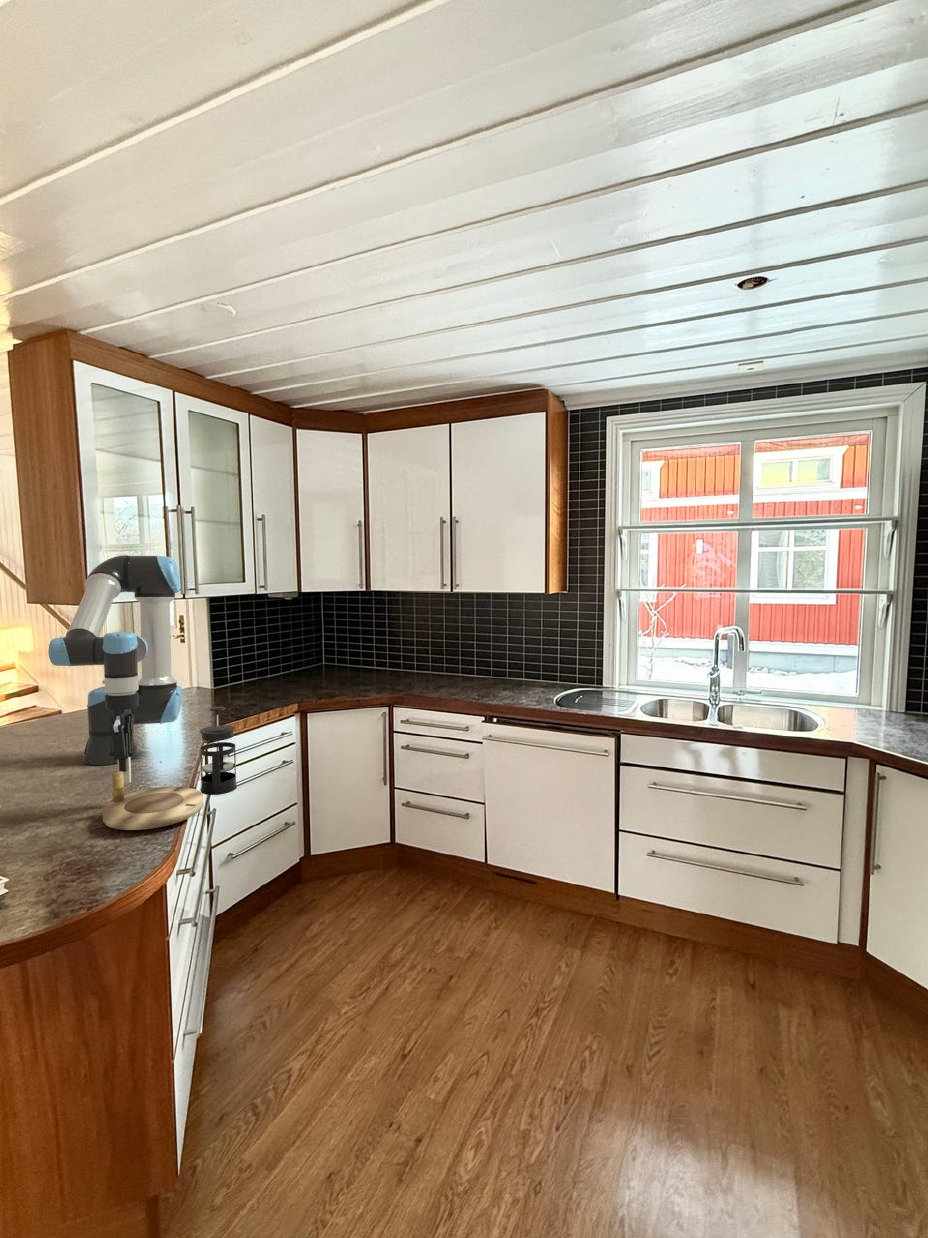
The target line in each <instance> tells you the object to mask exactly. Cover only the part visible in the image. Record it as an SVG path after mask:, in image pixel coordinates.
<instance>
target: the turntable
mask: <svg viewBox="0 0 928 1238" xmlns="http://www.w3.org/2000/svg"><path fill="white" fill-rule="evenodd" d="M111 778H112V780H111V781H112V800H111V801H110V802H108V803H106V805H105V806H104V807H103V809H102V811H101V812H102V822H103V824H105V826H107V827H109V828H113V829H116V830H124V831H127V830H128V831H137V830H138V831H141V830H149V829H155V828H162V827H166V826H170V825H174V824H177V823H180V822H183V821H185V820H187V819H189V818H192V817H194V816H195V815H197V814H198V813H199V812H200V811H201V810H202V809H203V807H204V794H203V793H201V791H200V790H198V789H197V788H196V789H195V788H192V787H186V786H185V787H184V786H163V787H153V788H146V789H142V790H137V791H133V792H131V793H127V794H125V784H124V775H123V772H122V771H118V770H117V771H114V772H112V775H111Z"/></svg>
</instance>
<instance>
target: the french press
mask: <svg viewBox="0 0 928 1238" xmlns="http://www.w3.org/2000/svg"><path fill="white" fill-rule="evenodd" d="M224 710H226V707H224V706H213V707H211V708H209V709H208V711H210V712H212V711H213V712H214V713H215V715H216V725H212V726H206V727H204V728H202V729H200V730H199V733H200V734H201V739H202V740H203V741H208V742H212V743H207V744H205V745H202V746H201V747H200V750H199V751H200V780H201V781H200V783H201V785H200V790H199V791H200V792H201V793H202V794H203V795H206V796H207V795H208V796H220V795H227V794H229V793H232V792H233V791H235V790H236V789H237V787H238V785H237V767H236V766H237V765H236V764H237V763H236V762H237V761H236V743H233V742H227V740H229V739H230V740H231V739H232V738H233V737H234V731H235V730H236V727H235V726H233V725H225V724H222V725H221V724H219V715H220V711H224ZM221 741H222V742H221ZM225 741H226V742H225ZM226 747H227V748H228V749H224V748H226ZM213 748H216V751H210V750H209V749H213ZM232 753H233V755H234V756H233V757H234V759H233V760H234V761H233V762H231V761H224V756H226V755H231V754H232ZM203 756H205V757H211V762H210V763H207V764H205V765H203ZM233 769H234V772H231V771H232V770H233ZM203 773H206V774H205V775H203Z"/></svg>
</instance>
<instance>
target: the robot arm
mask: <svg viewBox="0 0 928 1238" xmlns="http://www.w3.org/2000/svg"><path fill="white" fill-rule="evenodd" d="M179 572H180V571H179V568H178V565H177V562H176V561H175V559H174V558H172V557H171V556H162V555H125V554H124V555H122V554H121V555H116V556H113V557H110V558H108V559H106V560H104V561H101V563H100V564H98V565H97V566H95V568H93V569H92V570H91V572H90V573H89V574H88V575H87V577H86V579H85V581H84V588H85V591H84V594H83V596H82V598H81V600H80V602H79V604H78V607H77V609H76V612H75V614H74V616H73V618H72V621H71V623H70V625H69V627H68V630H67V632H66V634H65V635H64V637H63V636H60V637H55V638H52V639H51V640H50V642H49V644H48V650H47V651H48V659H49V662H50V663H51V664H52V665H53V666H56V667H65V666H66V667H78V666H79V667H80V666H84V667H85V666H103V671H104V674H103V675H104V676H103V677H104V680H102V681H101V683H102V684H103V685H104V686H101V687H97V688H93V689H92V690H90V692H88V694H87V704H86V707H87V723H88V724H87V725H88V738H87V741H86V744H85V747H84V751H83V753H82V762H83V763H84V764H86V765H91V766H105V765H106V766H108V765H114V764H116V765H117V767H116V768H117V772H118V771H122V772H123V775H124V785H125V784H130V783H131V782H132V765H131V764H132V763H131V760H134V759H135V758H137V757H138V755H139V751H138V750H139V749H138V746H137V744H136V741H135V738H134V725H136V726H137V725H149V724H151V725H153V724H160V725H161V724H166V723H167V724H168V723H173V722H175V721H177V719H178V717H179V715H180V711H181V707H182V701H183V687H182V686H180V685H177V684H178V683H177V680H176V679H175V678H174V677H173V676H172V646H171V645H172V642H171V639H172V638H171V602H173V600H174V599H176V594H177V593H180V591H181V579H180V574H179ZM121 593H134V599H135V600H136V601H137V602H138V603H139V609H140V611H139V612H140V616H139V617H140V635H137V634H136V633H135V632H131V631H118V632H117V631H115V632H114V631H113V632H107V633H105V634H104V635H103V636H100V635H101V633H102V631H103V628H104V625H105V622H106V620H107V617H108V614H109V612H110V609H111V607H112V605H113V602H114V599H116V598H117V597H119V595H120V594H121ZM138 663H141V665H140V666H141V678H140V679H139V673H138V672H139V671H138V668H139V667H138Z"/></svg>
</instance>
